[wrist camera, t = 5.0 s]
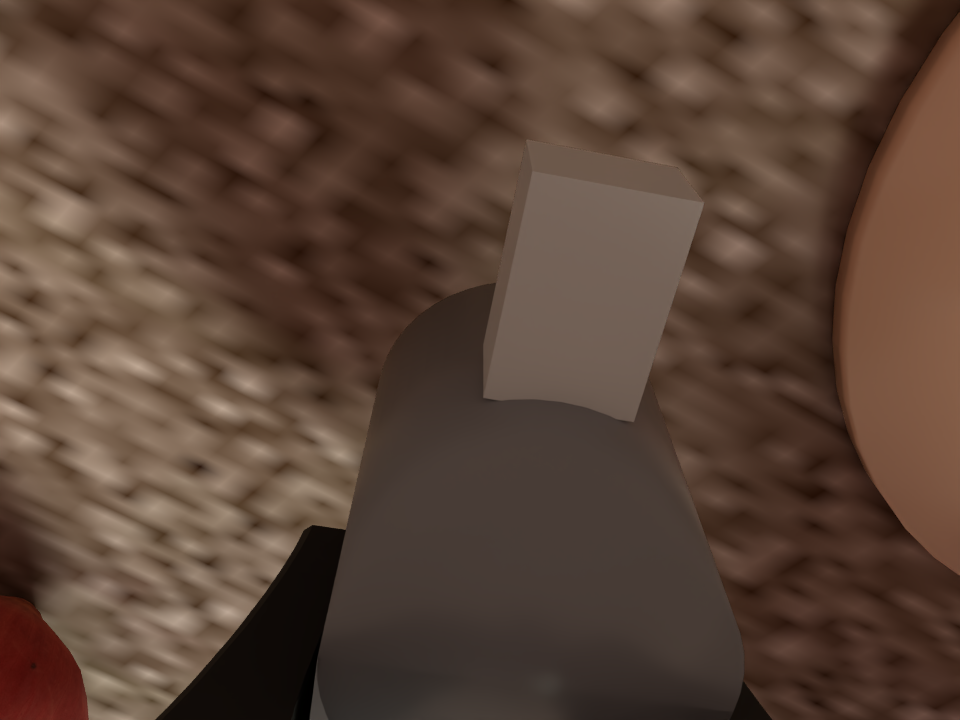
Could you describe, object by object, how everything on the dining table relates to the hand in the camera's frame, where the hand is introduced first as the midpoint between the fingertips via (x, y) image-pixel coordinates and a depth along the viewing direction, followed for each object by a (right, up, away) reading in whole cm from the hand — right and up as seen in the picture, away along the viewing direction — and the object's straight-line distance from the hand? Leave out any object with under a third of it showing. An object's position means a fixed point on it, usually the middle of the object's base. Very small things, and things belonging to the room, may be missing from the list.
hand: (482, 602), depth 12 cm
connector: (0, +2, +1) cm, 2 cm away
